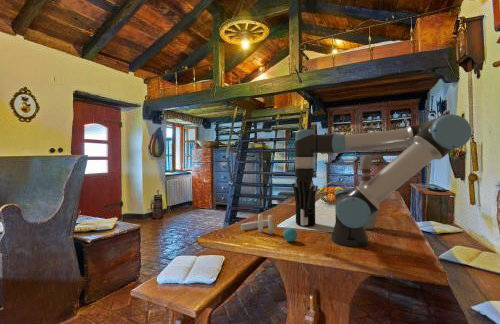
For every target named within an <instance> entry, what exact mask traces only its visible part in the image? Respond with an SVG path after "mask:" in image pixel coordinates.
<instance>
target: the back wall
mask: <svg viewBox="0 0 500 324" xmlns="http://www.w3.org/2000/svg"><path fill="white" fill-rule="evenodd" d="M264 227H268V219H263V228H264ZM254 229H258V220H257V221H250V222H245V223H240V230H241V231H248V230H254Z"/></svg>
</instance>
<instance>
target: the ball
mask: <svg viewBox="0 0 500 324" xmlns="http://www.w3.org/2000/svg"><path fill="white" fill-rule="evenodd" d="M297 238H298V232H297V231H296V230H295V229H294V228H293V227H288V228H285V229H284V231H283V239H284V240H285V241H287V242H288V243H293V242H294V241H296V239H297Z"/></svg>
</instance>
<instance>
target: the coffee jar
mask: <svg viewBox="0 0 500 324" xmlns="http://www.w3.org/2000/svg"><path fill="white" fill-rule="evenodd" d="M295 224H296V225H297V226H298V225H299V227H305V228H307V227H310V226H311V227H314V226H315V225H316V198H315V199H314V204H313V208H311V209H309V217H308V225H304V226H303V225H301V216H300V208H299V207H298V206H296V205H295Z"/></svg>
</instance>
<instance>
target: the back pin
mask: <svg viewBox="0 0 500 324" xmlns="http://www.w3.org/2000/svg"><path fill="white" fill-rule="evenodd" d="M257 219H258V220H257V221H258V228H257V229H258V230H257V231H258V233H263V232H264V227H263V220H264V214H260V213H259V214H258V215H257Z"/></svg>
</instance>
